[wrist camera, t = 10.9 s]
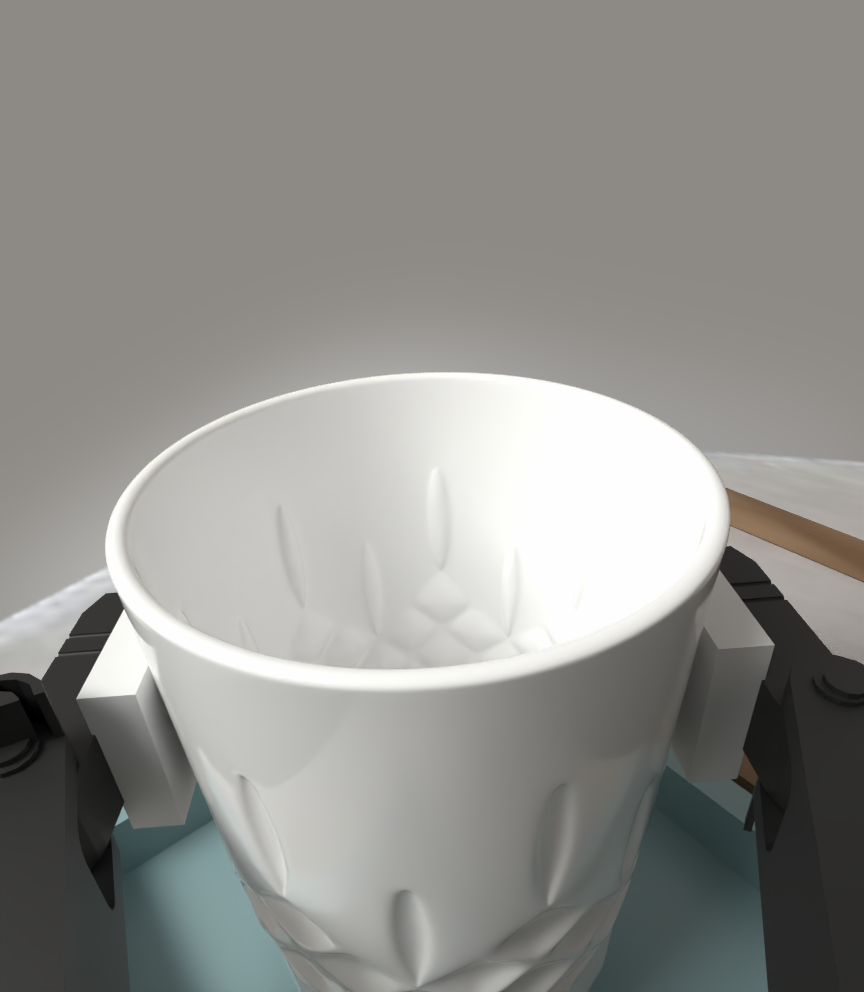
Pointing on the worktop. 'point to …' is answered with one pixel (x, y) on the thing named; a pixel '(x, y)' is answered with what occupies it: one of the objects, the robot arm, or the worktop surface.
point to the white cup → (427, 663)
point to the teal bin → (632, 946)
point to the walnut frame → (801, 539)
